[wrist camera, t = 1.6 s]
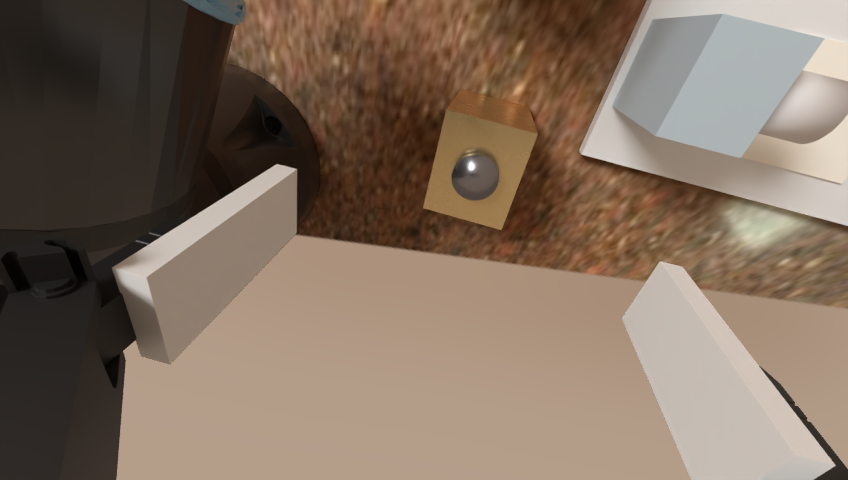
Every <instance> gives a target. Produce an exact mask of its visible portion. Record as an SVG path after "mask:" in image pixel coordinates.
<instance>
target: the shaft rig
mask: <svg viewBox="0 0 848 480" xmlns="http://www.w3.org/2000/svg"><path fill="white" fill-rule="evenodd" d="M579 152H580V153H581V155H585V156H589V157H592V158H596V159H600V160H604V161H607V162H611V163H615V164H619V165H622V166H626V167H630V168H634V169H637V170H641V171H645V172H648V173H652V174H656V175H660V176H663V177H667V178H671V179H675V180H678V181H682V182H686V183H690V184H693V185H697V186H701V187H705V188H708V189H712V190H716V191H719V192H723V193H727V194H731V195H734V196H738V197H742V198H746V199H749V200H753V201H757V202H761V203H764V204H768V205H772V206H775V207H779V208H783V209H787V210H790V211H794V212H798V213H802V214H805V215H809V216H813V217H817V218H820V219H824V220H828V221H832V222H835V223H839V224H843V225H846V226H848V0H647V1H646V3H645V5H644V7H643V10H642V12H641V14H640V16H639V19H638V21H637V23H636V25H635V27H634V30H633V32H632V34H631V36H630V39H629V41H628V43H627V45H626V47H625V50H624V52H623V54H622V56H621V58H620V61H619V63H618V65H617V67H616V70H615V72H614V74H613V76H612V78H611V81H610V83H609V85H608V87H607V89H606V92H605V94H604V96H603V98H602V101H601V103H600V105H599V107H598V109H597V112H596V114H595V116H594V118H593V120H592V123H591V125H590V127H589V129H588V132H587V134H586V136H585V138H584V140H583V143H582V145H581V147H580V149H579Z"/></svg>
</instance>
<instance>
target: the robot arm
mask: <svg viewBox="0 0 848 480" xmlns="http://www.w3.org/2000/svg"><path fill="white" fill-rule="evenodd" d="M245 14H246V5H245V2H244V0H0V480H116V476H117V464H118V450H119V437H120V425H121V412H122V400H123V387H124V373H125V361H126V360H125V357H124V353H123V350H125V348H127V347H128V346H129V345H130V344H131V343H133V342H134V341H135V340H136V342H137V345H138V348H139V351H140V354H141V356H142V357H146V358H149V359H153V360H156V361H160V362H163V363H167V364H171V363H172V362H173V361H174V360H175V359H176V358H177V357H178V356H179V355H180V354H181V353H182V352H183V351H184V350H185V349H186V348H187V347H188V345H190V343H191V342H192V341H193V340H194V339H195V338H196V337H197V336H198V335H199V334H200V333H201V332H202V331H203V330H204V329H205V328H206V327H207V326H208V325H209V324H210V323H211V322H212V321H213V320H214V319H215V318H216V317H217V315H218V314H219V313H220V312H221V311H222V310H223V309H224V308H225V307H226V306H227V305H228V304H229V303H230V302H231V301H232V300H233V299H234V298H235V297H236V296H237V295H238V293H240V292H241V291H242V289H243V288H244V287H245V286H246V285H247V284H248V283H249V282H250V281H251V280H252V279H253V278H254V277H255V276H256V275H257V274H258V273H259V272H260V271H261V270H262V269H263V268H264V267H265V265H267V264H268V263H269V262H270V260H271V259H272V258H273V257H274V256H275V255H276V254H277V253H278V252H279V251H280V250H281V249H282V248H283V247H284V246H285V245H286V244H287V243H288V242H289V241H290V240H291V239H292V238H293V237H294V236H295V235H296V233H297V225H298V224H299V223H300V222H301V221H302V220H303V219H304V218H305V217H306V216H307V215H308V213H309V212H310V211H311V209H312V207H313V205H314V203H315V201H316V199H317V195H318V192H319V187H320V164H319V158H318V153H317V149H316V146H315V143H314V140H313V138H312V136H311V133H310V131H309V129H308V127H307V125H306V124H305V122H304V120H303V119H302V117H301V116H300V114H299V113H298V111H297V110H296V109H295V107H294V106H293V105H292V104H291V102H290V101H289V100H288V99H287V98H286V97H285V96H284V95H283V94H282V93H281V92H280V91H279V90H278V89H276V88H275V87H274V86H273V85H271V84H270V83H269V82H267V81H266V80H264V79H263V78H261V77H260V76H258V75H256V74H255V73H253V72H250V71H248V70H246V69H244V68H241V67H238V66H235V65H231V64H226V62H227V58H228V54H229V50H230V46H231V42H232V38H233V34H234V30H235V26H236V25H239V24H240V23H241V22H243V20H244V18H245ZM622 320H623V322H624V325H625V327H626V329H627V332H628V334H629V336H630V339H631V341H632V343H633V346H634V348H635V350H636V353H637V355H638V357H639V359H640V362H641V364H642V367H643V369H644V371H645V374H646V376H647V378H648V381H649V383H650V385H651V387H652V390H653V392H654V394H655V397H656V399H657V402H658V404H659V406H660V409H661V411H662V413H663V416H664V418H665V420H666V422H667V425H668V427H669V429H670V432H671V434H672V437H673V439H674V441H675V443H676V446H677V448H678V450H679V453H680V455H681V457H682V460H683V462H684V464H685V467H686V469H687V471H688V474H689V476H690V478H691V480H848V469H847V468H846V466H845V465H844V464H843V463H842V461H841V460H840V459H839V457H838V456H837V455H836V454H835V452H834V451H833V450H832V449H831V447H830V446H829V445H828V444H827V442H826V441H825V440H824V439H823V437H822V436H821V435H820V433H819V432H818V431H817V430H816V429H815V427H814V426H813V425H812V423H811V422H808V421H807V417H806V416H805V415H804V413H803V412H802V411H801V410H800V408H799V407H798V406H795V402H794V401H793V400H792V398H791V397H790V396H789V394H788V393H787V392H786V391H785V389H784V388H783V387H782V386H781V384H780V383H778V382H777V381H776V380H775V379H774V378H773V377H772V376H771V375H769V374H768V373H767V372H766V371H765V370H764V369H763V368H761V367H760V366H758V364H757V363H756V362H755V360H754V359H753V358H752V357H751V355H750V354H749V353H748V351H747V350H746V349H745V347H744V346H743V345H742V344H741V342H740V341H739V340H738V338H737V337H736V336H735V335H734V333H733V332H732V331H731V329H730V328H729V327H728V326H727V324H726V323H725V322H724V320H723V319H722V318H721V316H720V315H719V314H718V313H717V311H716V310H715V309H714V307H713V306H712V305H711V304H710V302H709V301H708V300H707V298H706V297H705V296H704V294H703V293H702V292H701V290H700V289H699V288H698V287H697V285H696V284H695V283H694V281H693V280H692V279H691V278H690V276H689V275H688V274H687V272H686V271H685V270H684V268H683V267H681V266H677V265H673V264H669V263H665V262H661V261H660V262H659V263H658V265H657V266H656V268H655V269H654V271H653V272H652V274H651V276H650V277H649V279H648V280H647V282H646V283H645V285H644V286H643V288H642V289H641V291H640V292H639V294H638V295H637V297H636V298H635V300H634V301H633V303H632V304H631V306H630V307H629V309H628V310H627V312H626V313H625V315H624V316H623V318H622Z"/></svg>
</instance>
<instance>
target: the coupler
mask: <svg viewBox="0 0 848 480" xmlns="http://www.w3.org/2000/svg"><path fill="white" fill-rule="evenodd" d="M537 136H538V132H537V129H536V126H535V123H534V121H533V118H532V115H531V112H530V109H529V107H527V106H523V105H519V104H516V103H512V102H508V101H504V100H500V99H497V98H493V97H489V96H485V95H481V94H478V93H474V92H470V91H466V90H462V89H461V90H460V91H459V93H458V94H457V95H456V97H455V98H454V100H453V101H452V102H451V104H450V105H449V106H448V108H447V109H446V113H445V117H444V121H443V125H442V130H441V134H440V138H439V142H438V146H437V151H436V155H435V159H434V163H433V168H432V172H431V176H430V180H429V184H428V189H427V193H426V197H425V201H424V205H423V208H424V209H428V210H431V211H435V212H439V213H442V214H446V215H449V216H453V217H456V218H460V219H463V220H467V221H471V222H474V223H478V224H481V225H485V226H488V227H492V228H495V229H499V230H502V228H503V225H504V222H505V220H506V217H507V214H508V212H509V209H510V206H511V204H512V201H513V199H514V196H515V193H516V191H517V188H518V185H519V183H520V180H521V178H522V175H523V172H524V170H525V167H526V164H527V162H528V159H529V157H530V154H531V151H532V149H533V146H534V143H535V141H536V138H537Z"/></svg>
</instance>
